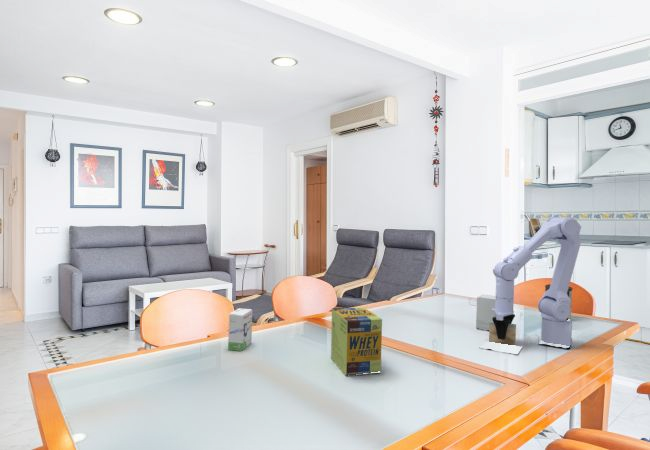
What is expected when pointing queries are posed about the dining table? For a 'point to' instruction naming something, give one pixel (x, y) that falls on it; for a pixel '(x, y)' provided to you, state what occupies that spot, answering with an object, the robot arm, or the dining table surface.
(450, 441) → the dining table surface
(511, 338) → the slab
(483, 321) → the supplement box
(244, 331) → the ink box
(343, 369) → the protein box
